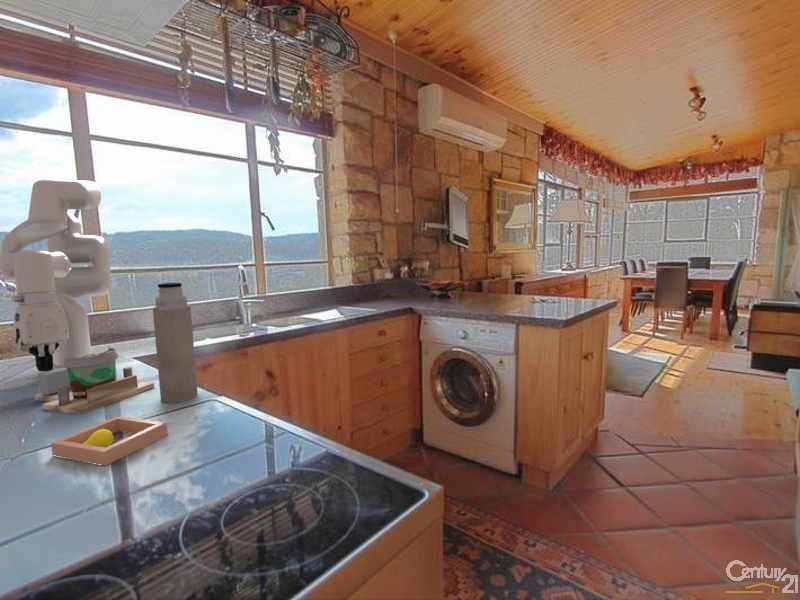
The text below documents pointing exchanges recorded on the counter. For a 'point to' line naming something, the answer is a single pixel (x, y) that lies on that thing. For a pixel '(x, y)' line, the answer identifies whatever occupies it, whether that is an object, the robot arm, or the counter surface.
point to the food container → (90, 371)
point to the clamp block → (53, 380)
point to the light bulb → (100, 438)
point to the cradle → (94, 395)
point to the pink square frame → (100, 455)
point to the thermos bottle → (174, 344)
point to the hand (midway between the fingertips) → (45, 370)
